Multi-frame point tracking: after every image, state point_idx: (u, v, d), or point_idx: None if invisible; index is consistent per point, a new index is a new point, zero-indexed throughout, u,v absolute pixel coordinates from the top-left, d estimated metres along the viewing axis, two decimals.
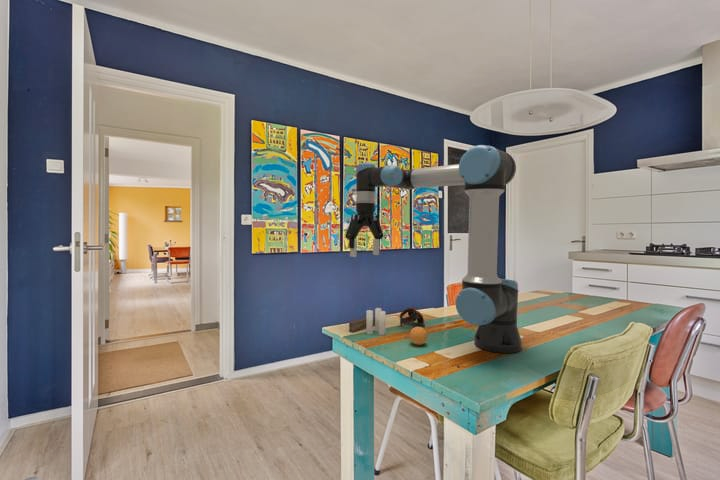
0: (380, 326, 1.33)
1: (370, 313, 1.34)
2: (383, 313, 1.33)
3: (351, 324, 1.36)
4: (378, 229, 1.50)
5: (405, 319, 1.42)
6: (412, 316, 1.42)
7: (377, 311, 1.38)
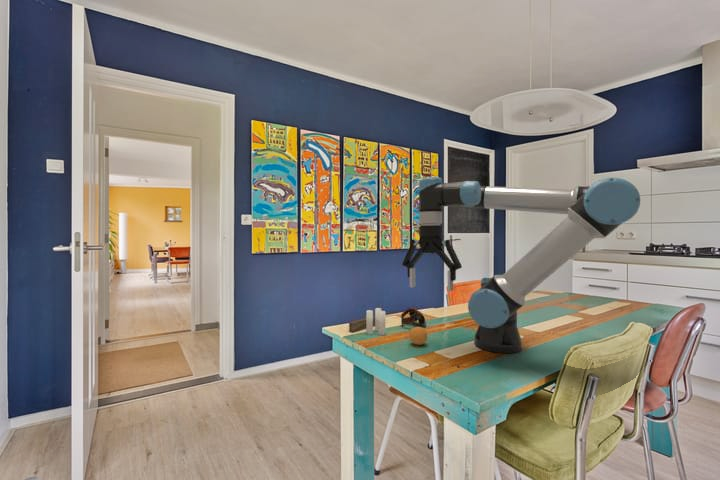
0: (380, 326, 1.33)
1: (370, 313, 1.34)
2: (383, 313, 1.33)
3: (351, 324, 1.36)
4: None
5: (407, 319, 1.42)
6: (414, 316, 1.41)
7: (377, 311, 1.38)
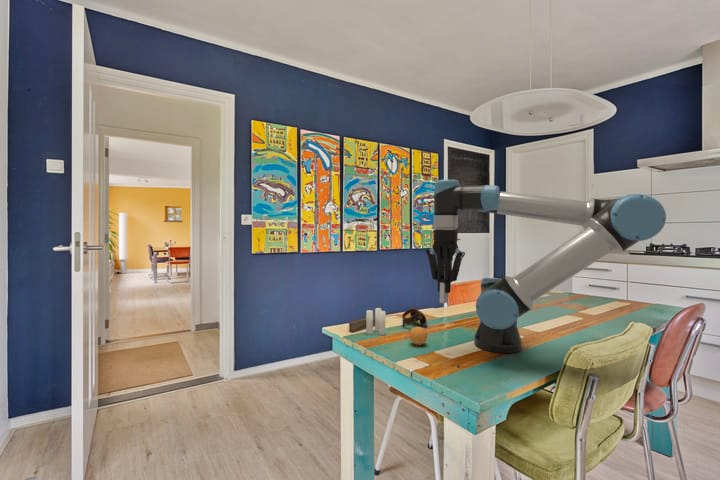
0: (380, 326, 1.33)
1: (370, 313, 1.34)
2: (383, 313, 1.33)
3: (351, 324, 1.36)
4: None
5: (408, 319, 1.41)
6: (415, 316, 1.41)
7: (377, 311, 1.38)
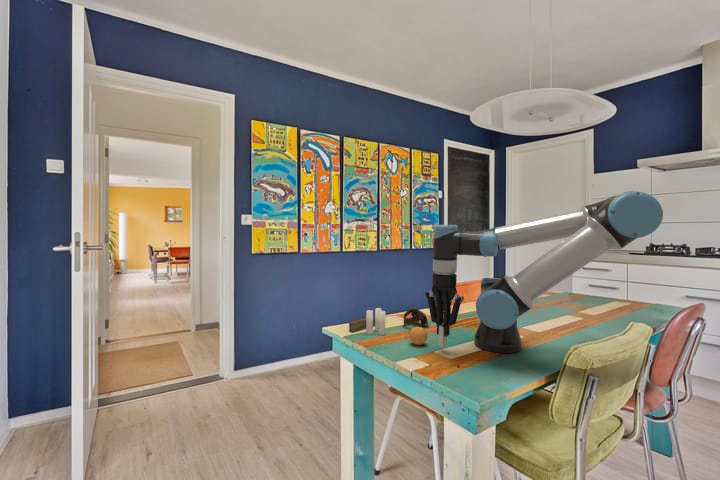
0: (380, 326, 1.33)
1: (370, 313, 1.34)
2: (383, 313, 1.33)
3: (351, 324, 1.36)
4: None
5: (409, 320, 1.41)
6: (416, 316, 1.41)
7: (377, 311, 1.38)
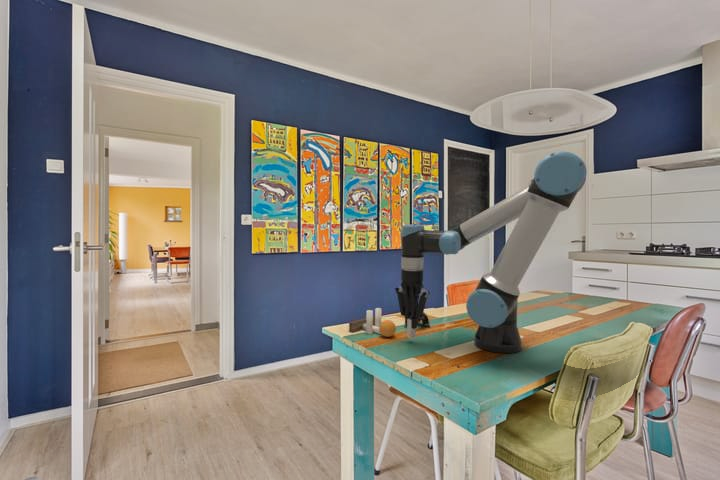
0: None
1: (370, 313, 1.34)
2: (364, 324, 1.40)
3: (351, 324, 1.36)
4: None
5: None
6: None
7: (377, 311, 1.38)
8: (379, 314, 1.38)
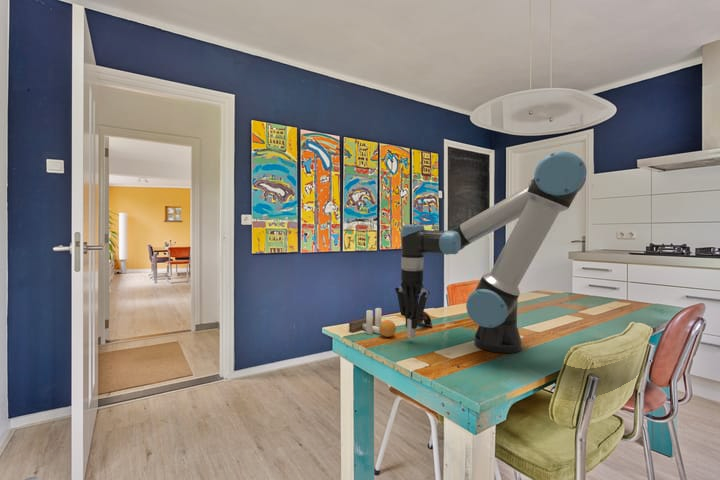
0: None
1: (370, 313, 1.34)
2: (363, 324, 1.40)
3: (351, 324, 1.36)
4: None
5: None
6: None
7: (377, 311, 1.38)
8: (379, 314, 1.38)
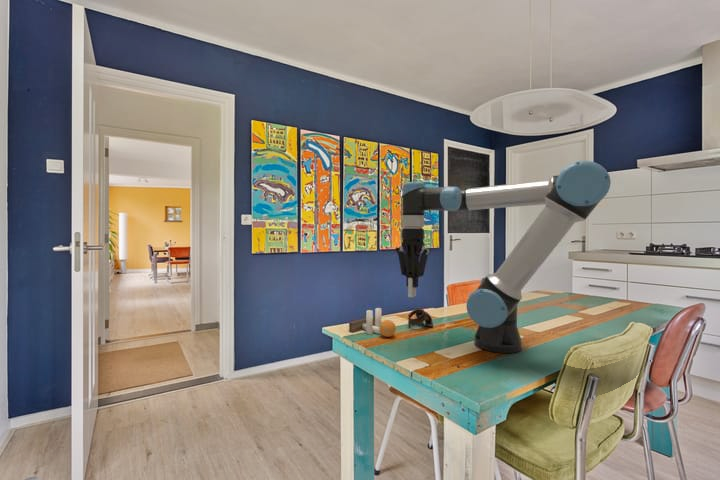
0: None
1: (370, 313, 1.34)
2: (363, 324, 1.40)
3: (351, 324, 1.36)
4: None
5: (414, 320, 1.40)
6: (421, 317, 1.40)
7: (377, 311, 1.38)
8: (379, 314, 1.38)
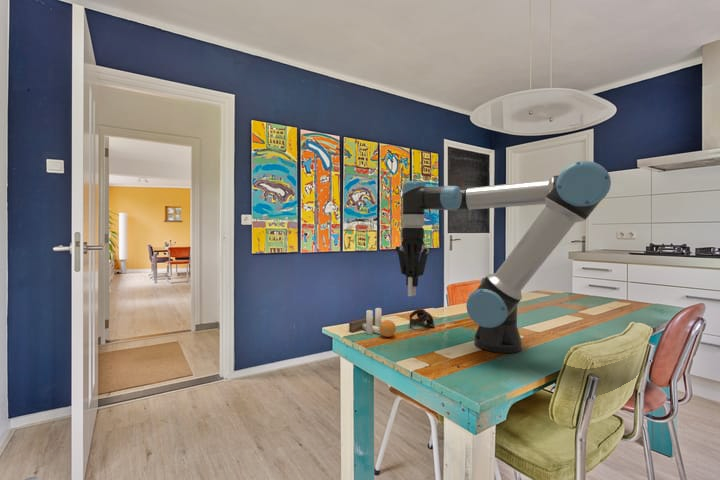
0: None
1: (370, 313, 1.34)
2: (363, 324, 1.40)
3: (351, 324, 1.36)
4: None
5: (415, 320, 1.40)
6: (422, 317, 1.40)
7: (377, 311, 1.38)
8: (379, 314, 1.38)
